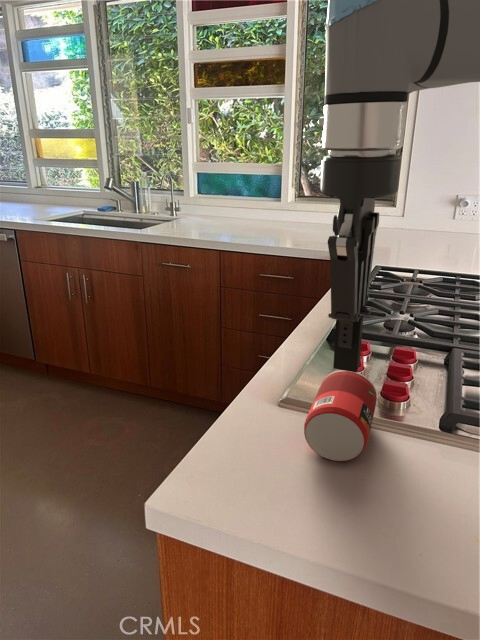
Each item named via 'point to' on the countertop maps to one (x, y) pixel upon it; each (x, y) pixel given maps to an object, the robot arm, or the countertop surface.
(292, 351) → the countertop surface
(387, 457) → the countertop surface
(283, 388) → the countertop surface
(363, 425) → the canned food
